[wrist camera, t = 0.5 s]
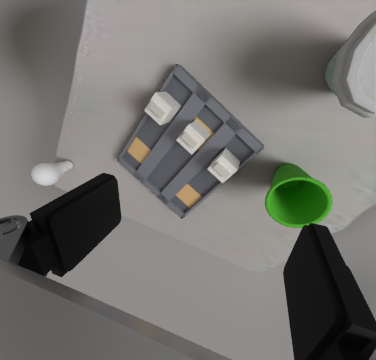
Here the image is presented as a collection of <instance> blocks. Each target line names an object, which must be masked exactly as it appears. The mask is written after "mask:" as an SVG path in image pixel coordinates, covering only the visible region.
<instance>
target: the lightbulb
mask: <svg viewBox="0 0 376 360" xmlns="http://www.w3.org/2000/svg"><path fill="white" fill-rule="evenodd" d="M72 167H73V165H72V163H71V162H70V161H68V160H67V161H64V162H58V163H48V162H43V163H39V164H37V165H35V166H34V167H33V169H32V171H31V176H32V179H33V180H34V181H35V182H36V183H38V184H40V185H45V186H47V185H52V184H54V183H56V182H57V181H58V179H59V178H60V176H61V175H62V174H63V173H65V172H67V170H69V169H71V168H72Z"/></svg>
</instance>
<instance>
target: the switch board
mask: <svg viewBox="0 0 376 360" xmlns="http://www.w3.org/2000/svg"><path fill="white" fill-rule="evenodd" d="M159 92H167V93H168V94H170V95H171V96H172V97H173V98H174V99H175V100H176V101H177V102H178V103H179V104H180V105H181V107H180V109H179V110H178V112H177V113H176V114H175V116H174V117H173V119H172V120H171V121H170V122H168V123H165V124H163V125H159V124H158V123H157V122H156V121H155V120H154V119H153V118H152V117H151V116H149V115H148V114H147V113H146V114H145V115H144V117H143V119H142V120H141V122H140V124H139V125H138V127H137V128H136V130H135V132H134V133H133V135H132V137H131V138H130V140H129V142H128V143H127V145H126V146H125V148H124V150H123V151H122V153H121V155H120V156H119V158H118V160H117V161H118V162H119V163H120V164H121V165H123V166H124V167H125V168H126V169H127V170H128V171H129V172H130V173H131V174H133V175H134V176H135V177H136V178H137V179H138V180H139V181H140V182H141V183H143V184H144V185H145V186H146V187H147V188H148V189H149V190H150V191H151V192H153V193H154V194H155V195H156V196H157V197H158V198H159V199H160V200H161V201H163V202H164V203H165V204H166V205H167V206H168V207H169V208H170V209H171V210H173V211H174V212H175V213H176V214H177V215H178V216H179V217H180V218H181V219H182V218H184V217H185V216H186V215H187V214H188V213H189V212H191V211H192V210H193V209H194V208H195V207H196V206H198V205H199V204H200V203H201V202H202V201H203V200H204V199H206V198H207V197H208V196H209V195H210V194H211V193H213V192H214V191H215V190H216V189H217V188H218V187H220V186H221V185H222V184H223V183H222V182H220V181H219V180H218V179H217V178H216V177H215V176H214V175H213V174H212V173H211V172H210V171H209V170H208V167H209V166H210V164H211V162H212V161H213V160H214V159H215V158H216V157H217V156H218V155H219V154H220V153H221V152H222V151H223V150H224V149H225V148H227V149H228V150H229V151H230V152H231V153H232V154H233V155H234V156H235V157H236V158H237V159H238V160H239V161H240V164H239V168H238V170H239V169H240V168H242V167H243V166H244V165H245V164H246V163H247V162H249V161H250V160H251V159H252V158H253V157H254V156H255V155H257V154H258V153H259V152H260V151H261V150H262V149H264V146H263V144H262V143H261V142H260V141H259V140H258V139H257V138H256V137H255V136H254V135H253V134H252V133H251V132H250V131H249V130H247V129H246V128H245V127H244V126H243V125H242V124H241V123H240V122H239V121H238V120H237V119H236V118H235V117H234V116H233V115H232V114H231V113H230V112H229V111H228V110H227V109H226V108H225V107H224V106H223V105H221V104H220V103H219V102H218V101H217V100H216V99H215V98H214V97H213V96H212V95H211V94H210V93H209V92H208V91H207V90H206V89H205V88H204V87H203V86H202V85H201V84H200V83H199V82H198V81H197V80H195V79H194V78H193V77H192V76H191V75H190V74H189V73H188V72H187V71H186V70H185V69H184V68H183V67H182V66H181V65H178V64H176V65H175V66H174V68H173V70H172V71H171V73H170V75H169V76H168V78H167V79H166V81H165V83H164V84H163V86H162V88H161V89H160V91H159ZM196 120H197V121H198V122H199V123H200V124H201V125H202V126H203V127H204V128H205V129H207V130H208V131H209V132H210V133H211V135H210V136H209V137H208V138H207V139H206V140H205V141H204V142H203V144H202V145H201V146H200V147H199V148H198V149H197V150H196V151H195V152H194V153H193V154H192V155H191V154H190V153H189V152H188V151H187V150H186V149H185V148H184V147H183V146H182V145H181V144H180V143H178V142H177V141H176V140H177V139H178V137H179V136H180V135H181V133H182V132H183V131H184V130H185V128H186V127H187V126H188V125H189V124H190V123H192V122H194V121H196ZM238 170H237V171H238ZM237 171H236V172H237ZM236 172H235V173H236ZM235 173H234V174H235ZM229 178H230V177H229ZM229 178H228V179H229ZM228 179H227V180H228Z"/></svg>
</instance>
